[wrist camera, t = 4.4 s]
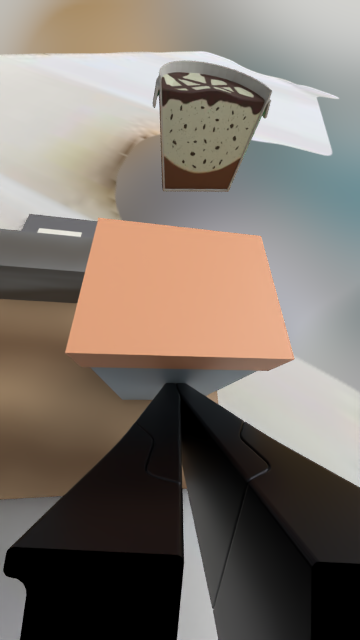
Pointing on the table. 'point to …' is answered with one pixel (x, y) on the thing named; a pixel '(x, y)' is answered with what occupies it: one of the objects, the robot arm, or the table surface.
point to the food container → (206, 123)
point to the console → (50, 372)
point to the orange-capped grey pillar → (176, 309)
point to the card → (60, 226)
